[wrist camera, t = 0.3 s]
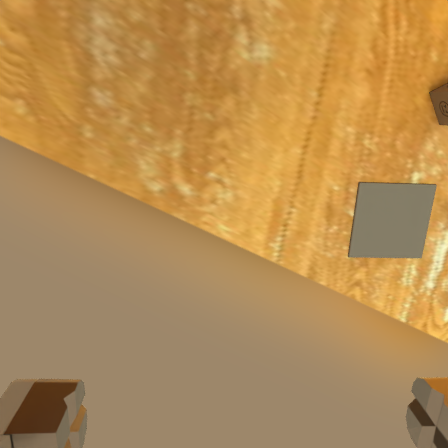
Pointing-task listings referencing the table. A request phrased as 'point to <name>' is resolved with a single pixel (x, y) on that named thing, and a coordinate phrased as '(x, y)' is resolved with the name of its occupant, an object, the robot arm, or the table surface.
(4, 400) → the robot arm
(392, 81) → the table surface
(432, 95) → the dice cube
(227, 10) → the table surface
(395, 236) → the mat
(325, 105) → the table surface
